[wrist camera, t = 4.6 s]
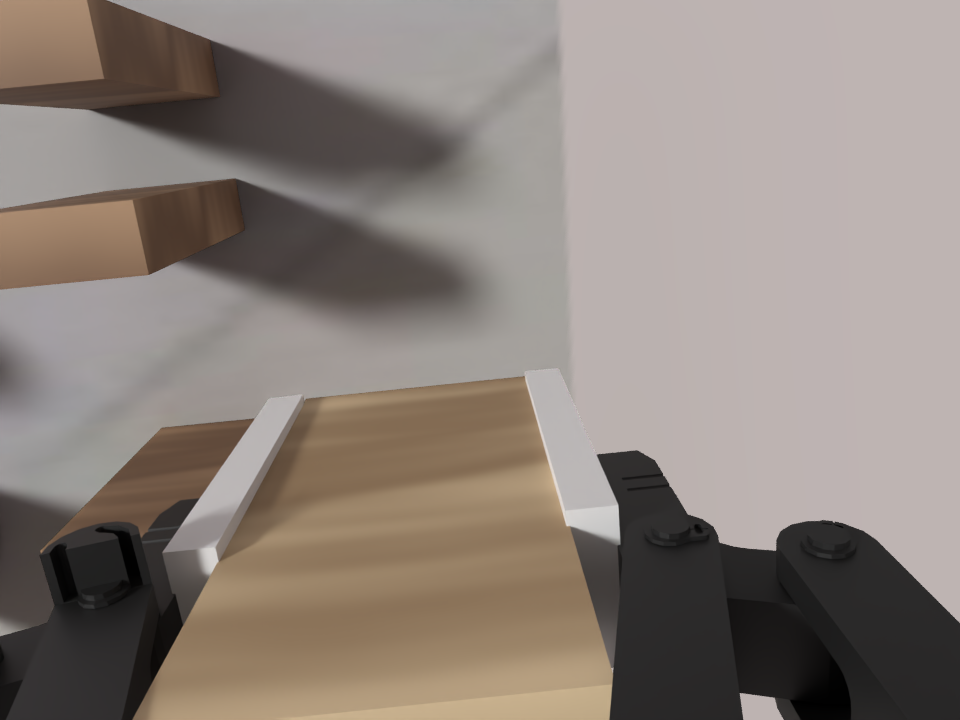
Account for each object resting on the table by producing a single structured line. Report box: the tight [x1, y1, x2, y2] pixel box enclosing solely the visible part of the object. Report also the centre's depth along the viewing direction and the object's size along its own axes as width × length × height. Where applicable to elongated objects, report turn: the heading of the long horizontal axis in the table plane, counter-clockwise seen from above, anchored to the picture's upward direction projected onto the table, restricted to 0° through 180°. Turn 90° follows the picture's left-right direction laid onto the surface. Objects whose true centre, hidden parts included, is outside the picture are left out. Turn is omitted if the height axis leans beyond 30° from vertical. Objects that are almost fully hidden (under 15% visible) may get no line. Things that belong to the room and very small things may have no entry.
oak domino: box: [132, 376, 613, 720], centre depth 13 cm, size 2×5×10 cm, turn 96°
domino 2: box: [0, 179, 245, 289], centre depth 25 cm, size 2×5×10 cm, turn 95°
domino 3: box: [40, 419, 254, 553], centre depth 28 cm, size 2×5×10 cm, turn 95°
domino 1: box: [0, 0, 220, 110], centre depth 24 cm, size 2×5×10 cm, turn 95°
